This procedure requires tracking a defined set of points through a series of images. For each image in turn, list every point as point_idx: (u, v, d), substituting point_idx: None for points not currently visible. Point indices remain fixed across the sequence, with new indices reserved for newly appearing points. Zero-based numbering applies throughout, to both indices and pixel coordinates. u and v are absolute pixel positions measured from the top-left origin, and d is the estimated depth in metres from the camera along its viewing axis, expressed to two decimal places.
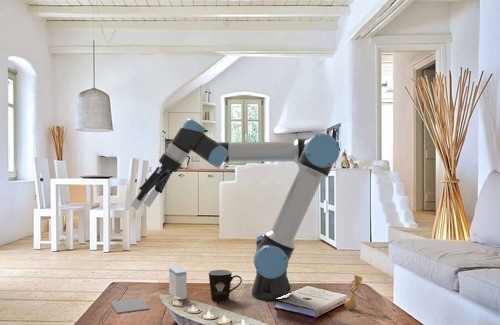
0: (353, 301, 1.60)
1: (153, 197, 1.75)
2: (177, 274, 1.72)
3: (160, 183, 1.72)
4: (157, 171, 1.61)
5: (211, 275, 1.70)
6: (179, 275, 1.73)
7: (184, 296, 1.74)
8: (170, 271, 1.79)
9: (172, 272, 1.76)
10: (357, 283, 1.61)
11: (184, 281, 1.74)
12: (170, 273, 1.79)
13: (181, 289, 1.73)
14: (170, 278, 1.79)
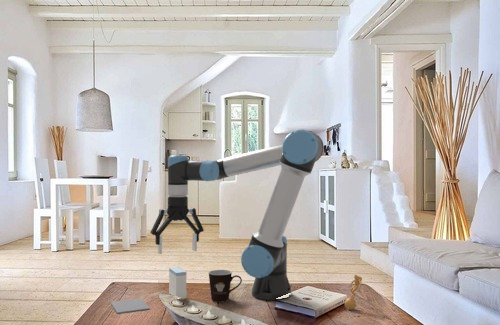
0: (353, 301, 1.60)
1: (194, 240, 1.79)
2: (177, 274, 1.72)
3: (188, 224, 1.79)
4: (159, 213, 1.74)
5: (211, 275, 1.70)
6: (179, 275, 1.73)
7: (184, 296, 1.74)
8: (170, 271, 1.79)
9: (172, 272, 1.76)
10: (357, 283, 1.61)
11: (184, 281, 1.74)
12: (170, 273, 1.79)
13: (181, 289, 1.73)
14: (170, 278, 1.79)
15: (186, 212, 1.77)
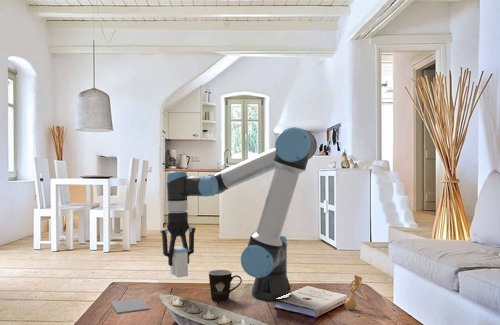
0: (353, 301, 1.60)
1: None
2: (178, 251, 1.72)
3: (183, 242, 1.78)
4: (162, 234, 1.75)
5: (211, 275, 1.70)
6: (180, 252, 1.73)
7: (186, 273, 1.73)
8: None
9: None
10: (357, 283, 1.61)
11: (185, 258, 1.74)
12: None
13: (182, 266, 1.73)
14: None
15: (186, 228, 1.77)
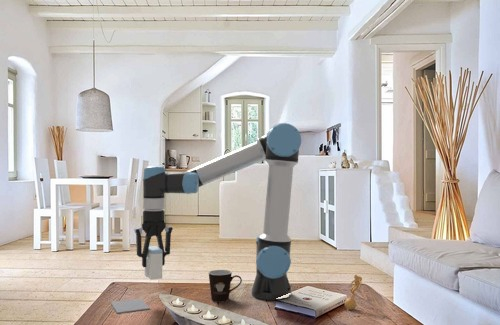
0: (353, 301, 1.60)
1: None
2: (152, 252, 1.61)
3: (158, 242, 1.67)
4: (136, 233, 1.64)
5: (211, 275, 1.70)
6: (154, 253, 1.62)
7: (160, 276, 1.63)
8: None
9: None
10: (357, 283, 1.61)
11: (160, 260, 1.63)
12: None
13: (156, 268, 1.62)
14: None
15: (162, 227, 1.66)
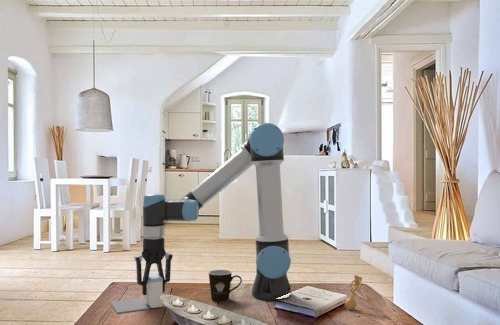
0: (353, 301, 1.60)
1: None
2: (152, 280, 1.61)
3: (158, 270, 1.67)
4: (136, 261, 1.64)
5: (211, 275, 1.70)
6: (154, 281, 1.62)
7: (160, 304, 1.63)
8: None
9: (148, 278, 1.65)
10: (357, 283, 1.61)
11: (160, 288, 1.63)
12: None
13: (157, 296, 1.62)
14: None
15: (162, 254, 1.66)
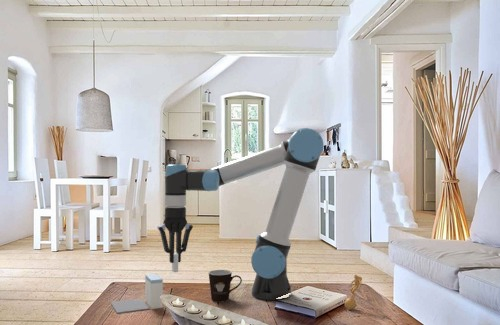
0: (353, 301, 1.60)
1: None
2: (152, 282, 1.61)
3: (177, 239, 1.70)
4: None
5: (211, 275, 1.70)
6: (155, 283, 1.62)
7: (160, 305, 1.63)
8: (146, 278, 1.68)
9: (148, 279, 1.65)
10: (357, 283, 1.61)
11: (160, 289, 1.63)
12: (146, 280, 1.68)
13: (157, 298, 1.62)
14: (146, 285, 1.68)
15: (183, 223, 1.70)
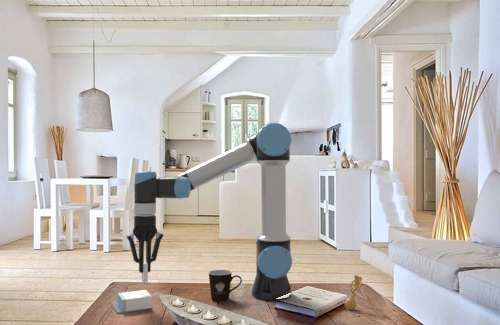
0: (353, 301, 1.60)
1: None
2: (124, 309, 1.57)
3: (147, 248, 1.65)
4: (128, 240, 1.63)
5: (211, 275, 1.70)
6: (125, 307, 1.57)
7: (149, 298, 1.61)
8: None
9: None
10: (357, 283, 1.61)
11: (132, 300, 1.58)
12: None
13: (141, 303, 1.60)
14: None
15: (153, 232, 1.65)
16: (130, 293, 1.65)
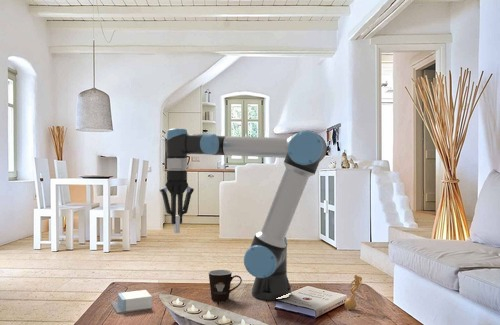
0: (353, 301, 1.60)
1: None
2: (124, 309, 1.57)
3: (178, 201, 1.75)
4: (161, 193, 1.73)
5: (211, 275, 1.70)
6: (125, 307, 1.57)
7: (149, 298, 1.61)
8: None
9: None
10: (357, 283, 1.61)
11: (132, 300, 1.58)
12: None
13: (141, 303, 1.60)
14: None
15: (184, 186, 1.75)
16: (130, 293, 1.65)
